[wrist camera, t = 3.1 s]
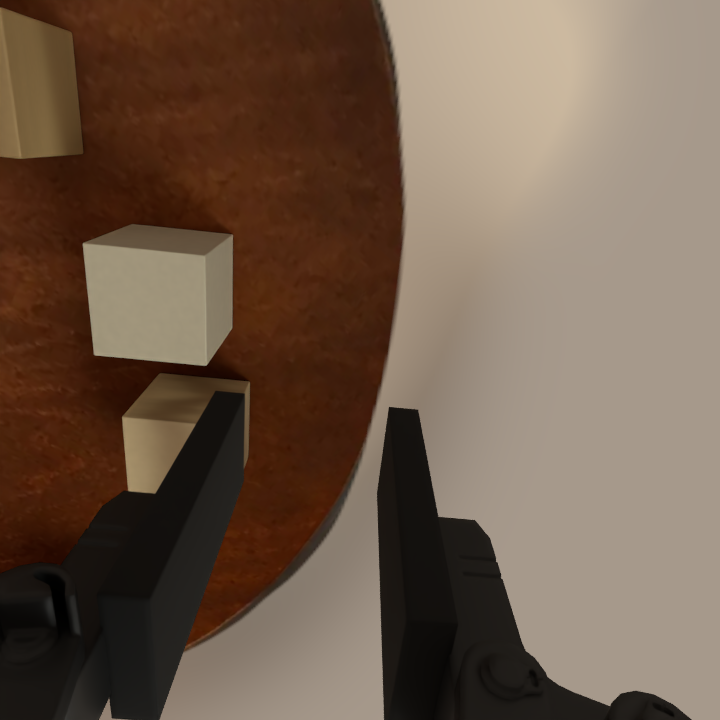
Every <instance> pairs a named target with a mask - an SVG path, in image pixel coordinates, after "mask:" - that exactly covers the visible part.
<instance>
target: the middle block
mask: <svg viewBox="0 0 720 720" xmlns="http://www.w3.org/2000/svg"><path fill="white" fill-rule="evenodd" d="M83 252H84V262H85V272H86V281H87V291H88V301H89V310H90V320H91V330H92V340H93V349H94V355H97V356H108V357H118V358H129V359H139V360H150V361H160V362H171V363H181V364H191V365H202V366H207V364H208V363H209V361H210V360H211V359H212V357H213V356H214V354H215V353H216V351H217V350H218V348H219V347H220V345H221V344H222V343H223V341H224V340H225V338H226V337H227V335H228V334H229V332H230V331H231V329H232V301H233V235H232V234H224V233H215V232H205V231H195V230H186V229H176V228H166V227H157V226H147V225H137V224H131V225H128V226H126V227H123V228H121V229H118V230H115V231H113V232H110V233H108V234H105V235H102V236H100V237H97V238H95V239H92V240H89V241H87V242H84V243H83Z"/></svg>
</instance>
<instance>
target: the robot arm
mask: <svg viewBox="0 0 720 720" xmlns="http://www.w3.org/2000/svg"><path fill="white" fill-rule="evenodd" d="M244 428H245V393H235V392H224V391H215V393H214V394H213V396H212V398H211V399H210V401H209V403H208V404H207V406H206V408H205V410H204V411H203V413H202V415H201V416H200V418H199V420H198V422H197V423H196V425H195V427H194V428H193V430H192V432H191V434H190V435H189V437H188V439H187V440H186V442H185V444H184V445H183V447H182V449H181V451H180V452H179V454H178V456H177V457H176V459H175V461H174V463H173V464H172V466H171V468H170V469H169V471H168V473H167V474H166V476H165V478H164V480H163V481H162V483H161V485H160V486H159V488H158V490H157V492H156V493H143V492H132V491H123V492H122V493H120V494H119V495H117V496H116V497H115V498H113V499H112V500H110V501H109V502H108V503H106V504H105V505H103V506H102V508H101V509H100V510H99V512H98V513H97V515H96V516H95V517H94V519H93V520H92V522H91V523H90V525H89V528H88V529H86V530H85V532H84V533H83V534H82V536H81V537H80V539H79V540H78V544H77V545H76V544H75V546H74V547H73V549H72V550H71V551H70V553H69V554H68V556H67V557H66V558H65V560H64V561H63V563H62V564H61V565H58V564H52V563H41V562H39V563H33V564H27V565H22V566H18V567H15V568H13V569H11V570H8V571H6V572H3V573H1V574H0V720H99V718H100V716H101V714H102V712H103V710H104V708H105V705H106V703H107V701H108V699H110V706H111V714H112V718H115V719H128V720H159V719H160V716H161V713H162V710H163V708H164V705H165V702H166V699H167V696H168V694H169V691H170V688H171V685H172V682H173V680H174V676H175V674H176V671H177V668H178V665H179V662H180V660H181V657H182V654H183V651H184V648H185V646H186V643H187V640H188V637H189V634H190V631H191V629H192V626H193V623H194V620H195V617H196V614H197V612H198V609H199V606H200V603H201V600H202V597H203V595H204V592H205V589H206V586H207V583H208V580H209V578H210V575H211V572H212V569H213V566H214V563H215V560H216V558H217V555H218V552H219V549H220V546H221V543H222V541H223V538H224V535H225V532H226V529H227V526H228V524H229V521H230V518H231V515H232V512H233V509H234V507H235V504H236V501H237V498H238V495H239V492H240V490H241V487H242V484H243V481H244ZM377 505H378V535H379V569H380V600H381V631H382V632H381V633H382V663H383V695H384V696H383V697H384V720H691V719H690V718H689V717H687V716H686V715H685V714H684V713H683V712H682V711H680V710H679V709H678V708H677V707H676V706H674V705H673V704H671V703H669V702H667V701H665V700H663V699H661V698H659V697H657V696H656V695H653V694H649V693H644V692H638V691H632V692H627V693H622V694H620V695H619V696H618V697H617V698H616V699H615V700H614V701H613V702H612V703H611V706H608V705H605V704H602V703H600V702H597V701H595V700H592V699H589V698H587V697H584V696H582V695H579V694H576V693H574V692H572V691H569V690H567V689H565V688H563V687H561V686H559V685H558V684H556V683H555V682H553V681H552V680H551V679H549V678H548V677H547V675H546V672H545V671H544V670H543V668H542V667H541V666H540V664H539V663H538V662H537V661H536V659H535V658H534V657H533V656H531V655H530V654H529V653H528V652H526V651H525V649H524V646H523V644H522V642H521V638H520V635H519V632H518V628H517V625H516V622H515V619H514V615H513V612H512V609H511V606H510V603H509V599H508V596H507V592H506V589H505V586H504V583H503V580H502V579H501V573H500V570H499V566H498V563H497V562H496V557H495V554H494V550H493V547H492V544H491V540H490V538H489V537H488V535H487V534H486V533H485V532H484V531H483V529H482V528H481V527H480V526H479V524H478V523H477V522H476V521H475V520H467V519H456V518H444V517H438V513H437V508H436V503H435V498H434V492H433V488H432V482H431V476H430V471H429V466H428V460H427V455H426V450H425V444H424V439H423V434H422V429H421V423H420V418H419V413H418V410H415V409H404V408H394V407H389V411H388V418H387V425H386V432H385V440H384V447H383V454H382V462H381V469H380V476H379V483H378V491H377Z"/></svg>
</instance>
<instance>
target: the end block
mask: <svg viewBox="0 0 720 720" xmlns="http://www.w3.org/2000/svg"><path fill="white" fill-rule="evenodd" d="M215 391H224V392H235V393H245V428H244V467H245V465H246V462H247V459H248V449H249V403H250V382H249V381H239V380H228V379H218V378H207V377H197V376H186V375H176V374H165V373H159V375H158V376H157V377H156V378H155V379H154V380H153V382H152V383H151V384H150V385H149V386H148V387H147V389H146V390H145V391H144V392H143V393H142V394H141V395H140V397H139V398H138V399H137V400H136V401H135V402H134V404H133V405H132V406H131V407H130V408H129V409H128V411H127V412H126V413H125V414H124V415H123V416H122V423H123V435H124V447H125V458H126V470H127V482H128V491H132V492H143V493H156V492H157V490H158V488H159V486H160V485H161V483H162V481H163V480H164V478H165V476H166V474H167V473H168V471H169V469H170V468H171V466H172V464H173V463H174V461H175V459H176V457H177V456H178V454H179V452H180V451H181V449H182V447H183V445H184V444H185V442H186V440H187V439H188V437H189V435H190V434H191V432H192V430H193V428H194V427H195V425H196V423H197V422H198V420H199V418H200V416H201V415H202V413H203V411H204V410H205V408H206V406H207V404H208V403H209V401H210V399H211V398H212V396H213V394H214V393H215Z"/></svg>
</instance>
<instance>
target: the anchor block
mask: <svg viewBox="0 0 720 720" xmlns="http://www.w3.org/2000/svg"><path fill="white" fill-rule="evenodd" d="M80 154H83V142H82V131H81V121H80V110H79V100H78V90H77V79H76V69H75V58H74V48H73V37H72V32H70V31H68V30H65V29H62V28H59V27H57V26H54V25H51V24H48V23H45V22H42V21H39V20H36V19H33V18H31V17H28V16H25V15H22V14H19V13H16V12H13V11H10V10H8V9H5V8H2V7H0V157H8V158H17V159H25V158H39V157H52V156H66V155H80Z"/></svg>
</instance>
